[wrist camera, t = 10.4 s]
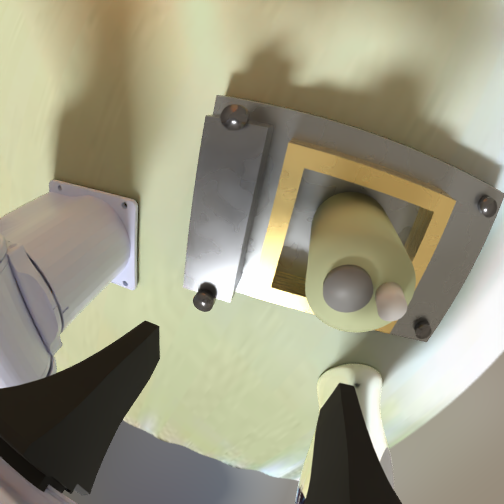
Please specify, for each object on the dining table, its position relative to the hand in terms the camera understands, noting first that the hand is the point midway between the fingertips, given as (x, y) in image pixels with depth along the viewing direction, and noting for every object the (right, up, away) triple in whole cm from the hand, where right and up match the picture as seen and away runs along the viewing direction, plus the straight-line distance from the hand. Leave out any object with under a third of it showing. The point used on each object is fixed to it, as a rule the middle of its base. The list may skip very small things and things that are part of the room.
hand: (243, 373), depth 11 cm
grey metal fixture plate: (+6, +6, +7) cm, 11 cm away
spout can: (+6, +6, +6) cm, 10 cm away
